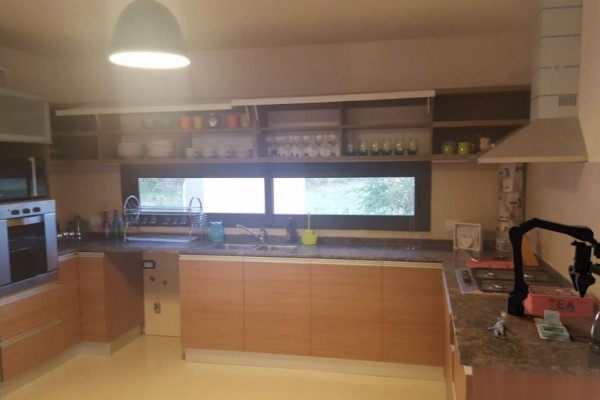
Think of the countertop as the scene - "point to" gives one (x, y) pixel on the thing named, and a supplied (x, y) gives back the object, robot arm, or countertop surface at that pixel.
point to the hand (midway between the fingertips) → (579, 294)
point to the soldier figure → (498, 327)
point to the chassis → (552, 331)
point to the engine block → (551, 318)
